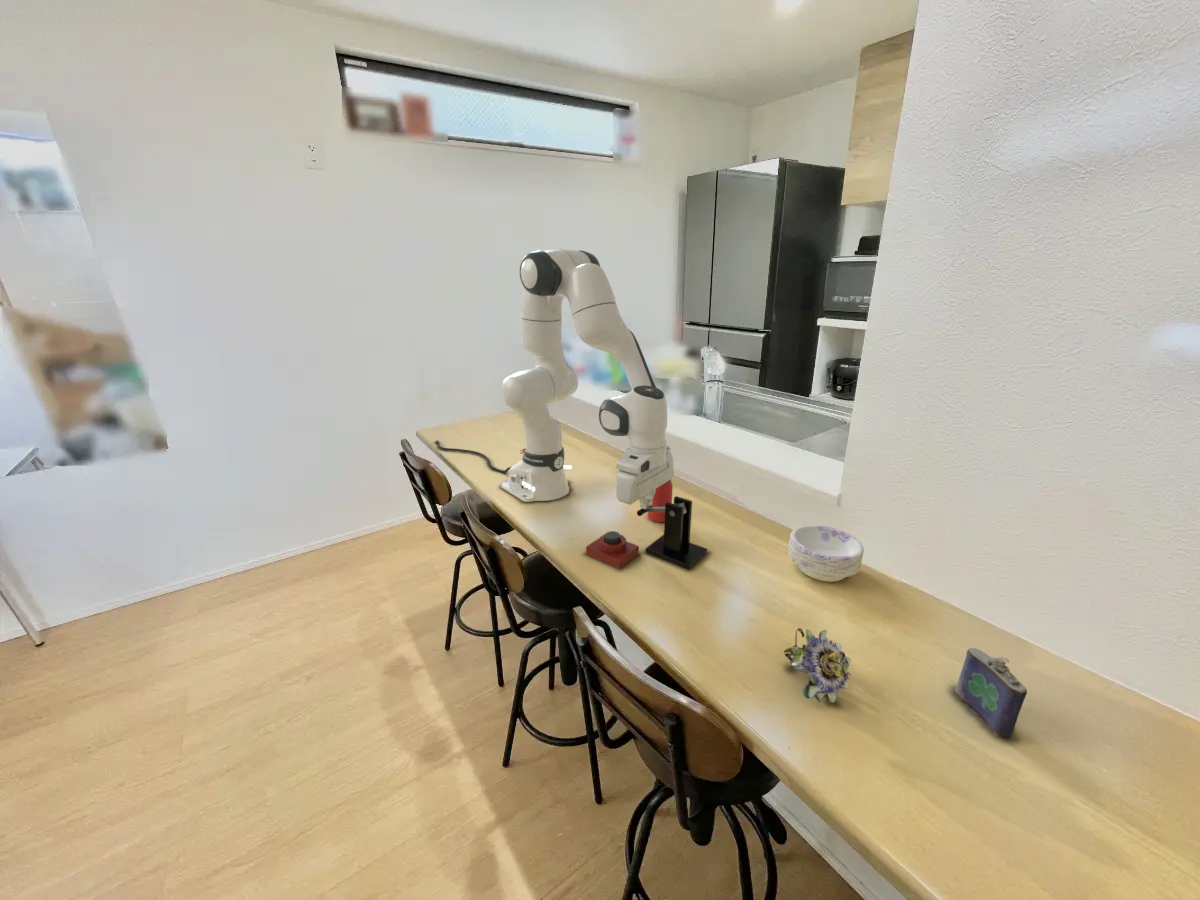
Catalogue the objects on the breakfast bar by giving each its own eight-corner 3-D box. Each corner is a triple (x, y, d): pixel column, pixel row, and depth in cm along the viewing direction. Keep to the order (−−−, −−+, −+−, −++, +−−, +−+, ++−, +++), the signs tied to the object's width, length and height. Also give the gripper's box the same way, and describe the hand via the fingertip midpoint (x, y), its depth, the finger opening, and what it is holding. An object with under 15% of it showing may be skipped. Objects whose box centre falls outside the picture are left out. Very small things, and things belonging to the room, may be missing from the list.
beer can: (670, 524, 134) (672, 483, 130) (646, 521, 135) (647, 481, 131) (671, 512, 140) (673, 474, 136) (648, 510, 141) (649, 472, 137)
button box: (586, 554, 120) (586, 540, 119) (606, 540, 126) (606, 527, 125) (619, 568, 114) (619, 553, 113) (638, 553, 120) (639, 539, 119)
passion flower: (823, 723, 81) (822, 709, 73) (768, 675, 88) (760, 657, 80) (863, 670, 84) (866, 650, 75) (805, 627, 91) (802, 604, 82)
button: (602, 541, 119) (601, 535, 118) (611, 535, 121) (611, 529, 121) (613, 546, 116) (613, 540, 116) (622, 540, 119) (622, 534, 118)
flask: (950, 690, 81) (967, 638, 77) (966, 688, 81) (983, 636, 77) (1000, 741, 72) (1022, 685, 68) (1018, 738, 73) (1040, 682, 69)
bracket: (645, 552, 121) (646, 501, 116) (664, 537, 127) (666, 489, 122) (688, 569, 114) (692, 516, 109) (706, 553, 120) (710, 502, 115)
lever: (637, 518, 122) (635, 509, 121) (649, 510, 125) (646, 501, 125) (679, 517, 114) (676, 507, 113) (689, 509, 117) (687, 500, 117)
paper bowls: (853, 558, 117) (859, 529, 115) (862, 596, 104) (869, 564, 101) (785, 547, 122) (789, 519, 119) (786, 582, 109) (790, 551, 106)
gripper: (659, 440, 127) (657, 489, 132) (611, 464, 112) (611, 518, 117) (680, 445, 123) (678, 495, 128) (634, 470, 108) (633, 526, 113)
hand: (646, 506), depth 122 cm, fingers closed, pressing on lever
